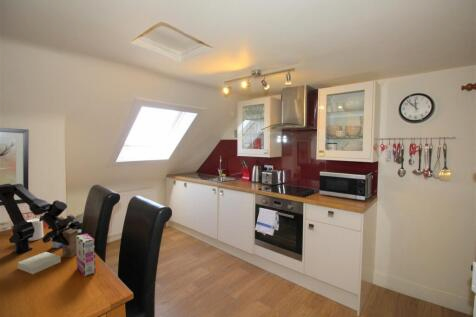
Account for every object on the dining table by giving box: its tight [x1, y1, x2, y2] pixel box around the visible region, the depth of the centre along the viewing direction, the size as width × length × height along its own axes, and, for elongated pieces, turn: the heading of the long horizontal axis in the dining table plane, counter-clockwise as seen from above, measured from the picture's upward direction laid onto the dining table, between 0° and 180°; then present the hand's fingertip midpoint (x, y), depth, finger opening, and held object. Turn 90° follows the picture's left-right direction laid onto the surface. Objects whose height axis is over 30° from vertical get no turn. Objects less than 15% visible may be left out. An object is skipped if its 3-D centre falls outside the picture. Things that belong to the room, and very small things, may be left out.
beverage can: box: [26, 217, 44, 242], centre depth 147 cm, size 8×8×12 cm
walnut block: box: [61, 229, 79, 258], centre depth 127 cm, size 5×5×13 cm
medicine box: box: [50, 238, 62, 249], centre depth 139 cm, size 8×4×9 cm, turn 168°
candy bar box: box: [76, 233, 96, 277], centre depth 112 cm, size 11×5×16 cm, turn 49°
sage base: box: [17, 251, 62, 275], centre depth 117 cm, size 12×12×3 cm
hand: (72, 242), depth 127 cm, fingers closed on walnut block, 5 cm apart
